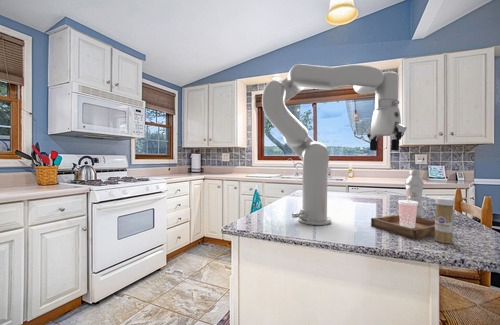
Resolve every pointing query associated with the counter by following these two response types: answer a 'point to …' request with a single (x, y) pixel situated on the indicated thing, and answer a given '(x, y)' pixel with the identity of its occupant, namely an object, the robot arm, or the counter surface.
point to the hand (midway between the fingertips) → (383, 150)
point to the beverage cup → (407, 212)
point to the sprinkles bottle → (444, 219)
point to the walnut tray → (393, 225)
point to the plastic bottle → (415, 190)
